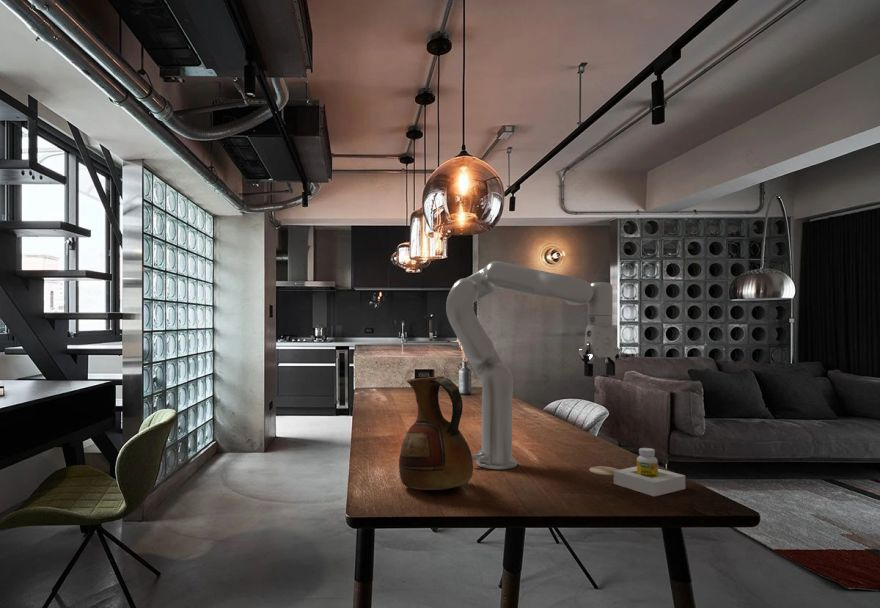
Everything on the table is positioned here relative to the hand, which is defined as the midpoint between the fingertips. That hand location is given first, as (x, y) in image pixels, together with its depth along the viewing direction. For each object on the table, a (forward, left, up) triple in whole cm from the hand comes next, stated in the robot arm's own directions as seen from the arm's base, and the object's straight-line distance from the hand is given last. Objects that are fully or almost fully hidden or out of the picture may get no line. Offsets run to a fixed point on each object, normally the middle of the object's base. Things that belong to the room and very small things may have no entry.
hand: (599, 375), depth 170 cm
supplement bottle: (-6, -22, -28) cm, 36 cm away
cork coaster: (-4, -5, -28) cm, 29 cm away
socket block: (-6, -22, -28) cm, 36 cm away
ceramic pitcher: (-57, +6, -28) cm, 64 cm away
